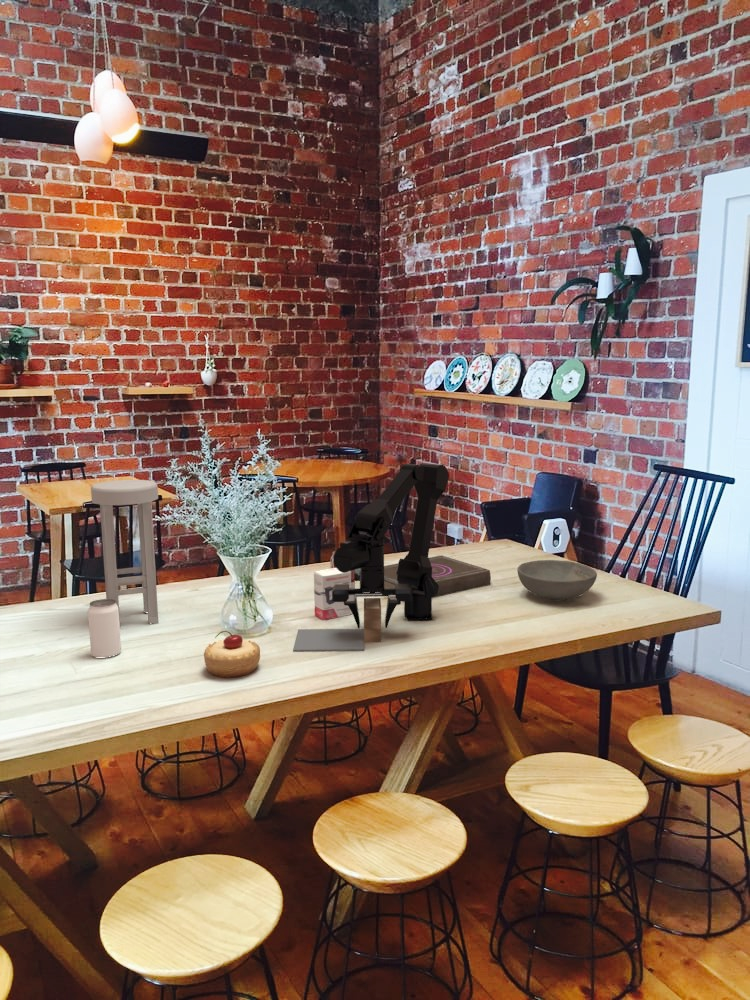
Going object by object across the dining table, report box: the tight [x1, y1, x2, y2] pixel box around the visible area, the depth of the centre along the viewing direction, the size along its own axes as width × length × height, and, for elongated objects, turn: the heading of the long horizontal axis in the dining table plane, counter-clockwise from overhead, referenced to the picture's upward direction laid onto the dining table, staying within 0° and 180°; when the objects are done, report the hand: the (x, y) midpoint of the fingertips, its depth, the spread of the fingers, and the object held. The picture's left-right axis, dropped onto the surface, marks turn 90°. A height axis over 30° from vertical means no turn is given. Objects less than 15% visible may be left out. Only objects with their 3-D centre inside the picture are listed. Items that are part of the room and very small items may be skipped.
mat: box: [292, 628, 365, 653], centre depth 186 cm, size 16×14×1 cm
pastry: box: [203, 630, 261, 678], centre depth 169 cm, size 12×12×9 cm
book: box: [379, 555, 492, 603], centre depth 232 cm, size 30×22×5 cm
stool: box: [90, 479, 159, 624], centre depth 200 cm, size 16×16×35 cm
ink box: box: [313, 568, 352, 621], centre depth 204 cm, size 8×5×12 cm, turn 123°
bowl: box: [517, 559, 598, 601], centre depth 219 cm, size 21×21×8 cm
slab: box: [363, 597, 382, 644], centre depth 189 cm, size 4×9×8 cm, turn 1°
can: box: [87, 598, 122, 658], centre depth 178 cm, size 6×6×12 cm
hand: (372, 627), depth 189 cm, fingers open, 6 cm apart
